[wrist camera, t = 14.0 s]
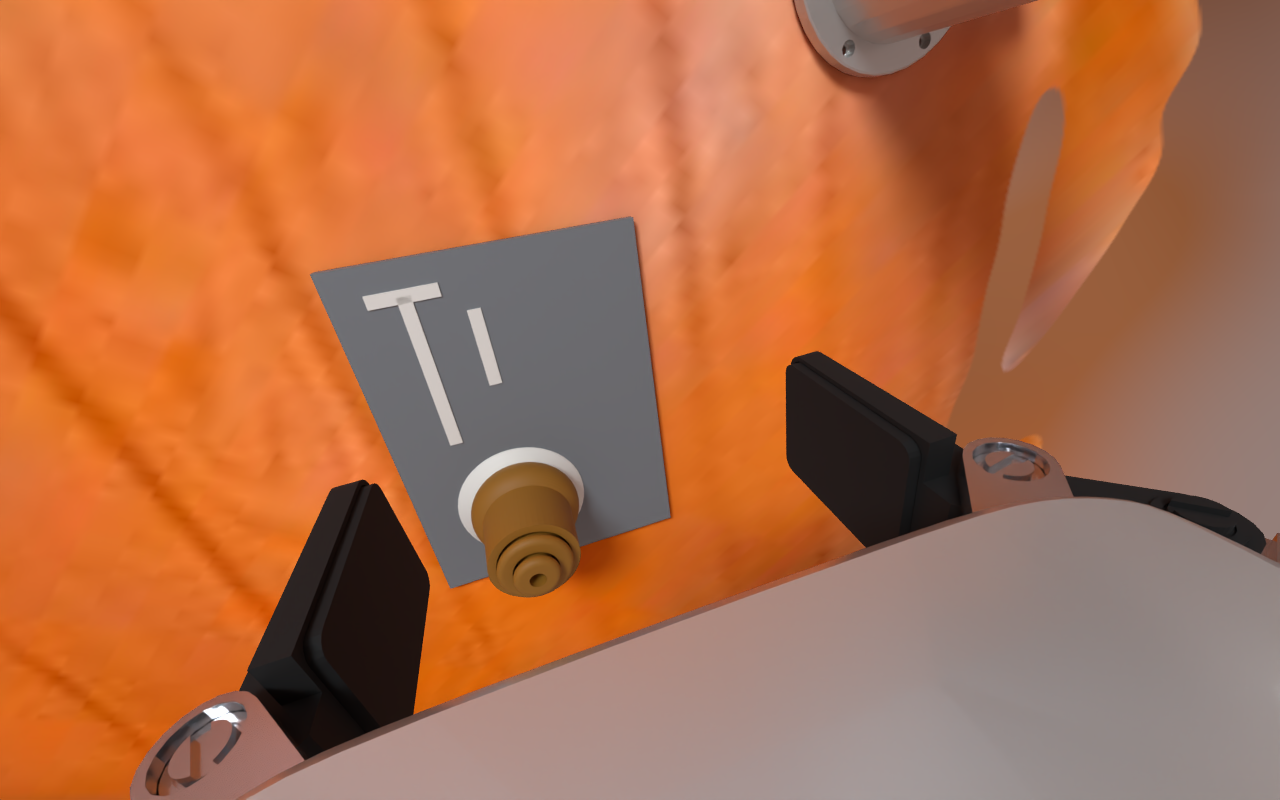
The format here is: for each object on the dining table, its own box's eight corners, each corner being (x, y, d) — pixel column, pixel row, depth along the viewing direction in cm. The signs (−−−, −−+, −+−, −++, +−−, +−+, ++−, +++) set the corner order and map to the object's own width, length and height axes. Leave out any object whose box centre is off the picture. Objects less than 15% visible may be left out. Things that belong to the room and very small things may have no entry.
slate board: (630, 216, 30) (633, 217, 29) (668, 513, 41) (671, 518, 40) (313, 272, 26) (309, 275, 25) (450, 582, 37) (450, 589, 37)
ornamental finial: (539, 436, 33) (593, 503, 37) (448, 495, 33) (511, 556, 37) (558, 506, 27) (621, 579, 30) (442, 581, 26) (521, 645, 30)
